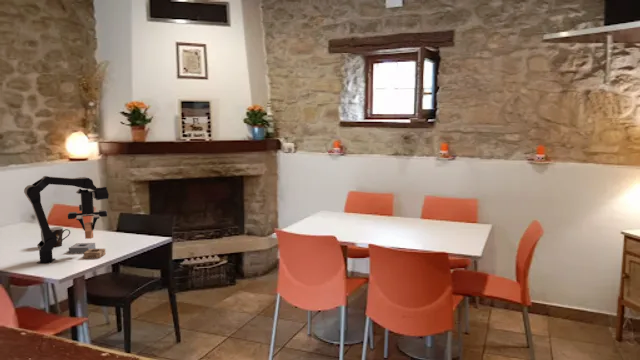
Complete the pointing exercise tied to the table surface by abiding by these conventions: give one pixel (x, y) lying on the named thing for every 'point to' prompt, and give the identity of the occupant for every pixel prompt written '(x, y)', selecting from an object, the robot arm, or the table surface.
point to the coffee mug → (59, 235)
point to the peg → (89, 230)
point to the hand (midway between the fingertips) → (88, 230)
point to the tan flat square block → (94, 253)
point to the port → (81, 247)
